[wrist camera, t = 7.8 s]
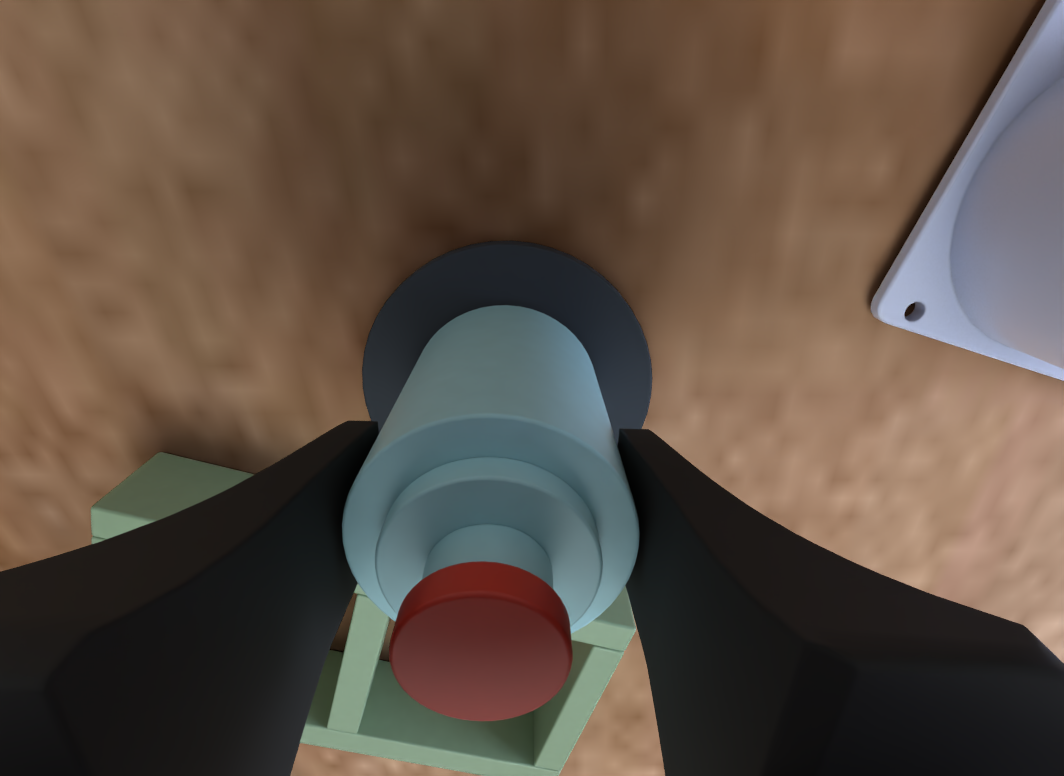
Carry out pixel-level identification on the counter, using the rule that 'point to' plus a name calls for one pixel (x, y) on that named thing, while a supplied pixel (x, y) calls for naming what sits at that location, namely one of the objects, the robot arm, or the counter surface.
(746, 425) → the counter surface
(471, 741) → the bottle rack
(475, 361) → the bottle
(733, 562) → the robot arm
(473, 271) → the coaster
